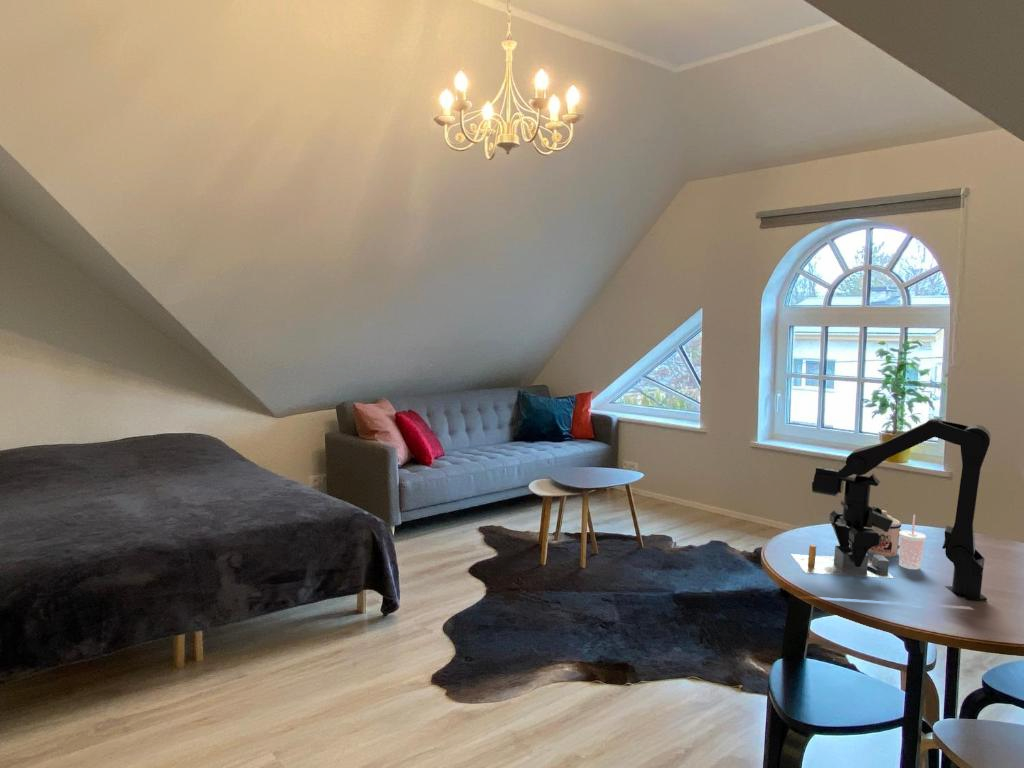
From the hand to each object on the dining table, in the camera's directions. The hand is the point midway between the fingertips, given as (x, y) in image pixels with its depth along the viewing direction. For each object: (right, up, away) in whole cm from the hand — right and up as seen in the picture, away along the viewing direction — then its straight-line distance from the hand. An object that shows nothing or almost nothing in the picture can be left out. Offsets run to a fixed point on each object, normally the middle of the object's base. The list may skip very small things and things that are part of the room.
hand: (851, 560), depth 187 cm
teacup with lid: (+15, -2, +13) cm, 20 cm away
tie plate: (-2, -2, +1) cm, 3 cm away
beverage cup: (+16, -3, +3) cm, 17 cm away
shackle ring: (0, -2, 0) cm, 2 cm away
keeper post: (-10, -2, +1) cm, 10 cm away
